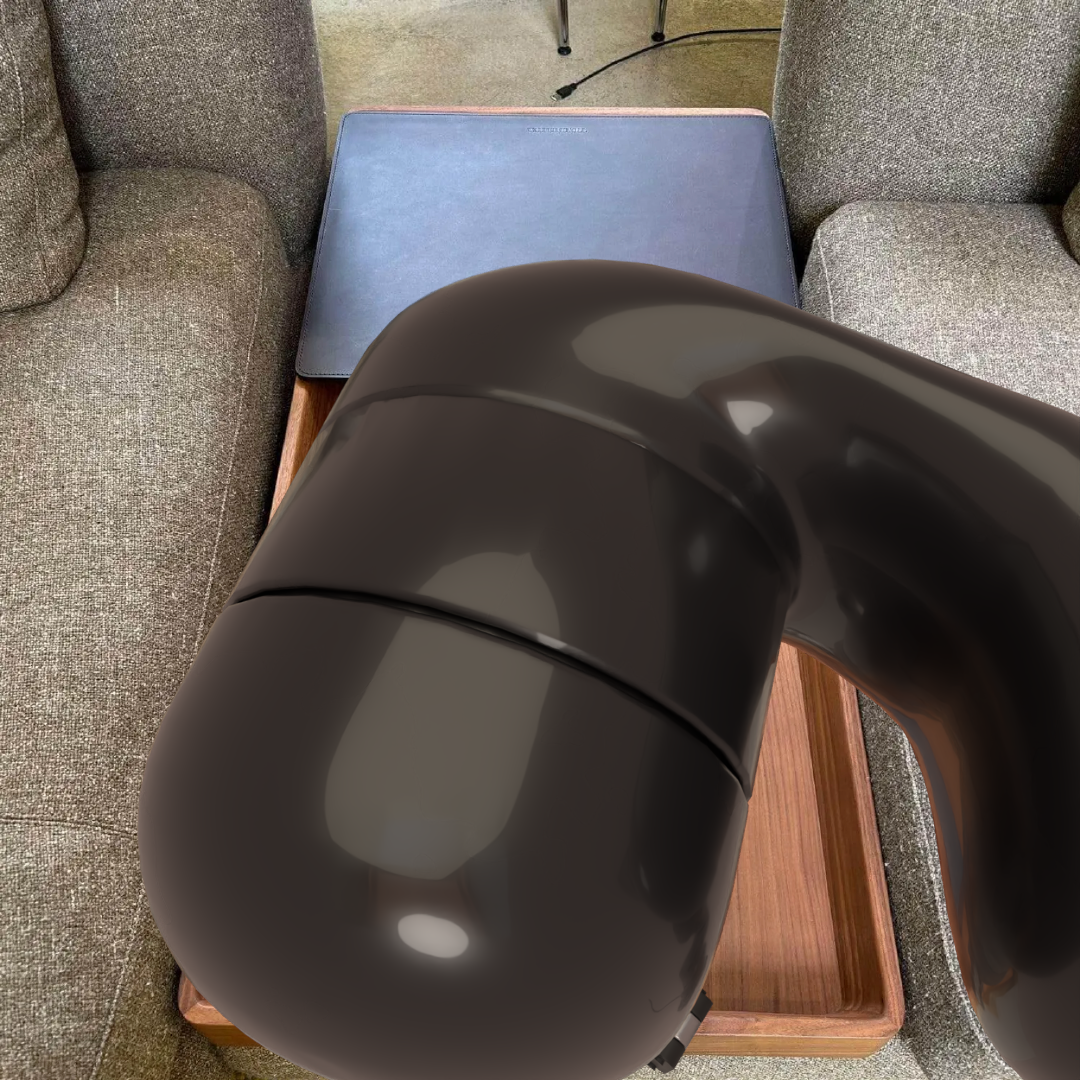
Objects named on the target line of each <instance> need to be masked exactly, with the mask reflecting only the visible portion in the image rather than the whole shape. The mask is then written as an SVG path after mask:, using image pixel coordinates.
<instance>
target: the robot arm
mask: <svg viewBox="0 0 1080 1080" xmlns="http://www.w3.org/2000/svg"><path fill="white" fill-rule="evenodd" d="M782 644H786V645H788V646H790V647H792V648H794V649H797V650H798V651H800V652H802V653H804V654H806V655H807V656H809V657H811V658H812V659H814V660H816V661H817V662H819V663H820V664H822V665H824V666H825V667H827V669H830V670H831V671H833V672H834V673H835V674H836V675H838V676H840V678H842V679H844V680H845V681H846V682H848V683H849V684H851V685H852V687H854V688H856V689H857V690H859V691H860V692H861V693H862V694H864V695H865V696H866V697H867V698H869V699H870V700H871V701H873V702H874V703H875V704H876V705H877V706H878V707H880V708H881V709H882V710H883V711H884V712H885V713H886V715H888V716H889V717H890V718H891V720H892V721H893V722H894V723H896V725H897V726H898V727H899V728H900V729H901V731H902V732H903V735H905V737H906V739H907V741H908V743H909V744H910V747H911V750H912V752H913V755H914V757H915V759H916V762H917V765H918V767H919V770H920V772H921V775H922V779H923V782H924V785H925V790H926V794H927V798H928V802H929V806H930V811H931V818H932V823H933V827H934V835H935V841H936V848H937V849H936V850H937V856H938V862H939V868H940V877H941V882H942V889H943V896H944V902H945V909H946V915H947V920H948V923H949V928H950V932H951V933H950V934H951V937H952V940H953V941H952V942H953V945H954V949H955V954H956V958H957V962H958V967H959V970H960V975H961V979H962V983H963V985H964V988H965V991H966V994H967V998H968V1000H969V1003H970V1006H971V1008H972V1009H973V1012H974V1013H975V1016H976V1018H977V1020H978V1022H979V1024H980V1026H981V1028H982V1030H983V1032H984V1033H985V1035H986V1037H987V1038H988V1040H989V1041H990V1042H991V1044H992V1045H993V1047H994V1049H995V1050H996V1052H997V1053H998V1055H999V1056H1000V1057H1001V1058H1002V1060H1004V1062H1005V1063H1006V1064H1007V1065H1008V1066H1009V1067H1010V1068H1011V1069H1012V1070H1013V1071H1014V1072H1015V1073H1016V1074H1017V1075H1018V1076H1019V1077H1020V1078H1021V1079H1022V1080H1080V416H1079V415H1076V414H1074V413H1072V412H1070V411H1068V410H1065V409H1063V408H1060V407H1058V406H1055V405H1052V404H1050V403H1048V402H1045V401H1042V400H1039V399H1036V398H1034V397H1031V396H1028V395H1026V394H1023V393H1020V392H1017V391H1015V390H1012V389H1009V388H1006V387H1003V386H1001V385H999V384H995V383H992V382H989V381H987V380H984V379H981V378H979V377H977V376H973V375H971V374H968V373H966V372H963V371H960V370H958V369H956V368H952V367H951V366H948V365H945V364H942V363H940V362H937V361H935V360H932V359H929V358H927V357H925V356H921V355H919V354H917V353H914V352H912V351H909V350H907V349H904V348H902V347H899V346H896V345H894V344H891V343H889V342H886V341H883V340H881V339H878V338H876V337H873V336H871V335H869V334H865V333H863V332H860V331H858V330H855V329H853V328H850V327H847V326H846V325H842V324H839V323H838V322H835V321H832V320H829V319H827V318H825V317H822V316H820V315H817V314H814V313H812V312H810V311H806V310H804V309H802V308H798V307H796V306H794V305H791V304H788V303H785V302H783V301H781V300H778V299H775V298H774V297H773V298H772V297H770V296H767V295H764V294H762V293H759V292H756V291H753V290H749V289H747V288H743V287H740V286H738V285H735V284H731V283H727V282H725V281H722V280H718V279H715V278H713V277H709V276H705V275H704V274H700V273H695V272H690V271H685V270H681V269H675V268H671V267H666V266H661V265H659V264H652V263H646V262H640V261H639V262H638V261H628V260H618V259H617V260H614V259H603V258H577V259H576V258H575V259H554V260H553V259H552V260H551V259H550V260H539V261H533V262H527V263H521V264H516V265H509V266H503V267H500V268H495V269H492V270H487V271H485V272H480V273H477V274H474V275H470V276H467V277H464V278H460V279H457V280H455V281H453V282H451V283H448V284H446V285H443V286H442V287H440V288H437V289H434V290H432V291H430V292H429V293H427V294H425V295H423V296H421V297H420V298H418V299H416V300H415V301H413V302H412V303H411V304H409V305H407V306H406V307H405V308H404V309H402V310H400V312H399V313H397V314H396V316H394V317H393V318H392V319H391V320H390V321H389V322H388V323H387V324H386V326H385V327H384V328H383V329H382V330H381V331H380V332H379V333H378V335H377V336H376V337H374V339H373V340H372V342H370V344H369V345H368V346H367V348H366V349H365V351H364V353H363V354H362V355H361V357H360V359H359V360H358V362H357V364H356V366H355V367H354V369H353V371H352V372H351V374H350V375H349V377H348V379H347V381H346V382H345V384H344V386H343V387H342V389H341V390H340V393H339V395H338V396H337V397H336V400H335V402H334V404H333V405H332V407H331V409H330V411H329V413H328V415H327V417H326V418H325V421H324V422H323V424H322V425H321V427H320V430H319V431H318V433H317V435H316V436H315V439H314V441H313V442H312V444H311V446H310V447H309V450H308V452H307V454H306V455H305V457H304V459H303V461H302V463H301V464H300V466H299V468H298V470H297V472H296V473H295V475H294V477H293V479H292V481H291V482H290V484H289V486H288V488H287V490H286V491H285V493H284V495H283V497H282V499H281V500H280V503H279V504H278V507H277V508H276V509H275V512H274V514H272V517H271V518H270V520H269V523H268V524H267V526H266V528H265V530H264V531H263V534H262V535H261V537H260V539H259V540H258V543H257V545H256V546H255V548H254V550H253V551H252V553H251V555H250V557H249V558H248V561H247V563H246V564H245V566H244V568H243V570H242V571H241V574H240V576H239V577H238V579H237V581H236V582H235V585H234V586H233V589H232V590H231V592H230V594H229V595H228V597H227V599H226V601H225V603H224V604H223V606H222V611H221V613H219V614H218V615H217V616H216V618H215V619H214V621H213V623H212V624H211V626H210V628H209V630H208V632H207V634H206V635H205V638H204V640H203V642H202V643H201V645H200V647H199V649H198V651H197V653H196V654H195V656H194V658H193V661H192V662H191V664H190V666H189V668H188V670H187V672H186V674H185V675H184V677H183V679H182V681H181V682H180V684H179V686H178V688H177V690H176V692H175V694H174V695H173V697H172V699H171V701H170V704H169V706H168V707H167V709H166V710H165V713H164V715H163V716H162V717H161V719H160V723H159V725H158V728H157V731H156V733H155V736H154V739H153V742H152V744H151V747H150V750H149V752H148V755H147V757H146V761H145V765H144V771H143V776H142V780H141V785H140V788H139V793H138V804H137V805H138V806H137V819H136V833H137V834H136V835H137V845H138V858H139V871H140V874H141V878H142V882H143V886H144V887H143V888H144V891H145V894H146V899H147V902H148V905H149V910H150V914H151V916H152V919H153V920H154V922H155V925H156V927H157V929H158V931H159V933H160V935H161V938H162V939H163V940H164V943H165V944H166V947H167V948H168V951H169V952H170V954H171V956H172V957H173V959H174V960H175V962H176V964H177V966H178V967H179V969H180V971H181V973H183V974H184V977H186V978H187V980H188V981H189V982H190V983H191V984H192V986H193V987H194V988H195V990H196V991H197V992H198V993H199V994H200V995H201V996H202V997H203V998H204V999H205V1000H206V1001H207V1002H208V1003H209V1004H210V1005H211V1006H212V1007H213V1008H214V1009H215V1010H216V1011H217V1012H218V1013H219V1014H220V1015H221V1016H222V1017H223V1018H225V1019H226V1021H228V1022H230V1023H231V1024H232V1025H233V1026H234V1027H235V1028H237V1029H238V1031H240V1032H242V1033H243V1035H245V1036H247V1037H249V1038H250V1039H251V1040H253V1041H254V1042H256V1043H257V1044H258V1045H260V1046H262V1047H263V1048H265V1050H266V1049H267V1050H268V1051H269V1052H271V1053H273V1054H275V1055H276V1056H279V1058H282V1059H284V1060H286V1061H287V1062H289V1063H291V1064H293V1065H294V1066H297V1067H299V1068H301V1069H303V1070H306V1071H308V1072H310V1073H313V1074H315V1075H316V1076H319V1077H322V1078H323V1079H327V1080H625V1079H626V1078H627V1077H630V1076H631V1075H633V1074H635V1073H636V1072H637V1071H639V1070H641V1069H643V1068H644V1067H645V1066H648V1067H649V1068H650V1069H651V1070H652V1071H654V1072H655V1071H656V1070H658V1071H659V1072H661V1073H662V1074H664V1075H666V1074H668V1073H670V1072H672V1071H674V1070H675V1068H676V1067H677V1065H678V1064H679V1062H680V1061H681V1059H682V1057H683V1055H684V1053H686V1050H687V1049H688V1047H689V1046H690V1044H691V1043H692V1040H693V1039H694V1037H695V1036H696V1033H697V1032H698V1030H699V1029H700V1027H701V1026H702V1024H703V1021H705V1019H706V1017H707V1015H708V1014H709V1012H710V1010H711V1009H712V1007H713V1005H714V1002H713V1001H712V999H710V998H709V997H708V996H707V991H706V990H705V989H704V986H705V983H706V981H707V978H708V976H709V974H710V971H711V968H712V966H713V963H714V960H715V957H716V954H717V950H718V947H719V945H720V942H721V937H722V935H723V931H724V927H725V923H726V921H727V917H728V914H729V909H730V905H731V901H732V896H733V892H734V888H735V883H736V877H737V872H738V868H739V863H740V858H741V853H742V848H743V842H744V837H745V833H746V828H747V823H748V817H749V809H750V808H749V807H750V805H749V802H750V800H751V799H752V797H753V792H754V789H755V788H754V787H755V782H756V776H757V771H758V767H759V761H760V757H761V756H760V755H761V749H762V746H763V745H762V744H763V740H764V734H765V730H766V724H767V719H768V712H769V708H770V702H771V698H772V692H773V687H774V681H775V677H776V672H777V671H776V670H777V666H778V660H779V656H780V650H781V645H782Z"/></svg>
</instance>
